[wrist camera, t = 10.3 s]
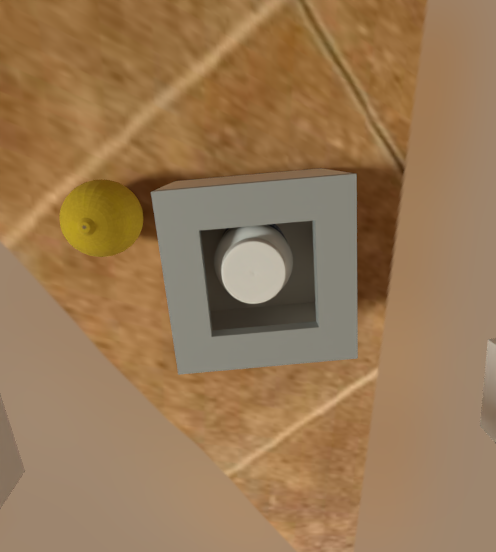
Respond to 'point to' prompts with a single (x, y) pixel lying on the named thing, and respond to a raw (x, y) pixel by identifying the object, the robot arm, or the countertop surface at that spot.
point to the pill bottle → (253, 262)
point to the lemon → (101, 218)
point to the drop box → (291, 298)
